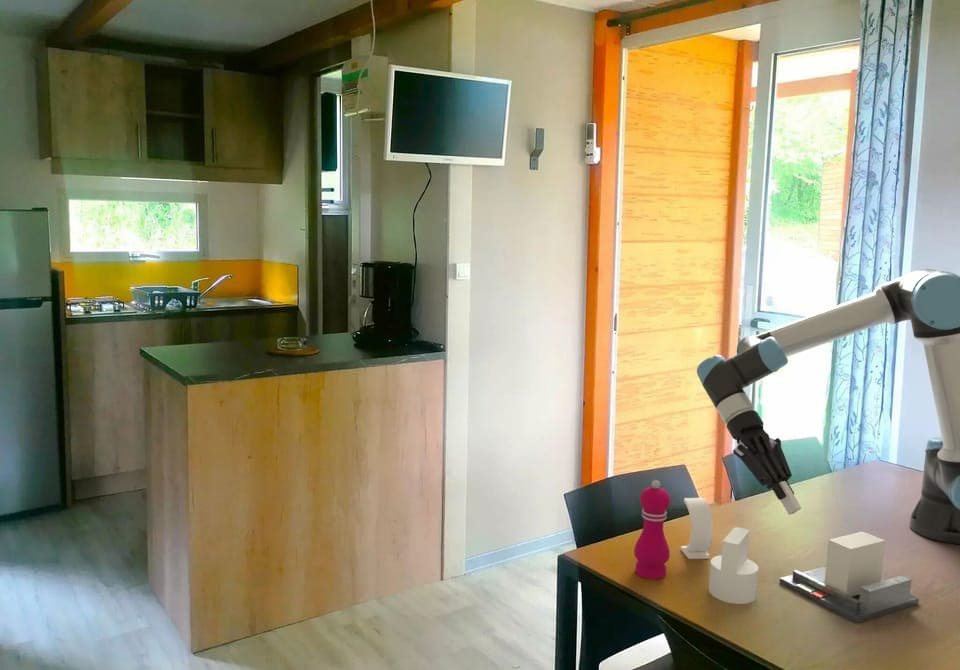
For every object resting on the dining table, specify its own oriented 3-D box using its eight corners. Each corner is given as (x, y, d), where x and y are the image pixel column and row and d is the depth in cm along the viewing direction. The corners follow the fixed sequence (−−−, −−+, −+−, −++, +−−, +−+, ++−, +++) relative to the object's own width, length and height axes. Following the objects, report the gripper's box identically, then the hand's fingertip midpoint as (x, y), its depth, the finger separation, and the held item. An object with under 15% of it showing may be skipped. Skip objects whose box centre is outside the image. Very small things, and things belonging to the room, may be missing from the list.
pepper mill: (668, 582, 164) (674, 487, 161) (632, 578, 165) (638, 484, 162) (667, 567, 171) (673, 476, 168) (633, 563, 172) (638, 473, 169)
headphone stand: (700, 549, 181) (704, 497, 179) (710, 560, 175) (714, 507, 173) (680, 549, 180) (683, 498, 178) (690, 561, 174) (694, 507, 173)
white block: (854, 576, 165) (859, 530, 163) (879, 588, 160) (885, 540, 158) (820, 585, 160) (825, 538, 159) (845, 598, 155) (850, 549, 154)
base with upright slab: (749, 608, 154) (754, 548, 152) (702, 595, 158) (707, 537, 157) (760, 590, 161) (765, 533, 160) (715, 578, 166) (720, 523, 164)
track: (839, 567, 173) (841, 542, 172) (918, 604, 157) (921, 576, 156) (779, 583, 165) (781, 557, 164) (856, 623, 149) (859, 594, 148)
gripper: (751, 423, 189) (805, 514, 177) (710, 429, 183) (762, 524, 171) (770, 405, 184) (827, 498, 172) (728, 411, 178) (784, 508, 166)
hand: (795, 511), depth 171 cm, fingers closed
